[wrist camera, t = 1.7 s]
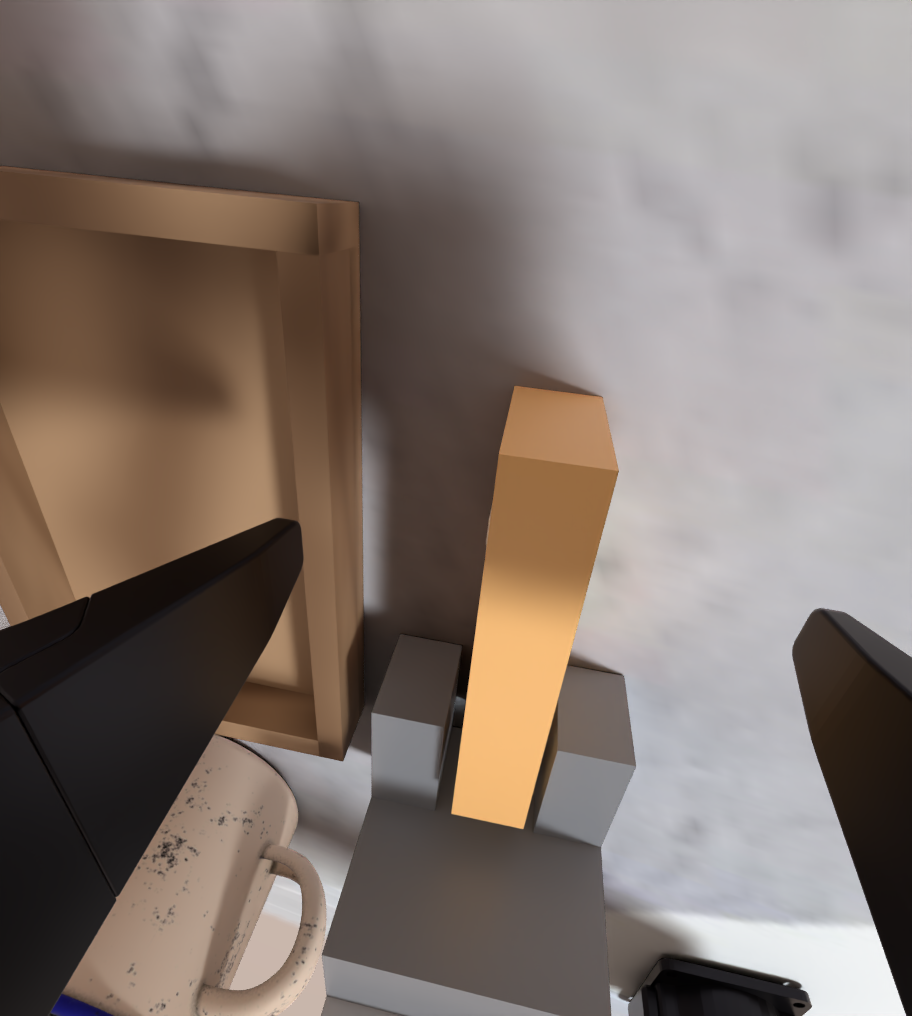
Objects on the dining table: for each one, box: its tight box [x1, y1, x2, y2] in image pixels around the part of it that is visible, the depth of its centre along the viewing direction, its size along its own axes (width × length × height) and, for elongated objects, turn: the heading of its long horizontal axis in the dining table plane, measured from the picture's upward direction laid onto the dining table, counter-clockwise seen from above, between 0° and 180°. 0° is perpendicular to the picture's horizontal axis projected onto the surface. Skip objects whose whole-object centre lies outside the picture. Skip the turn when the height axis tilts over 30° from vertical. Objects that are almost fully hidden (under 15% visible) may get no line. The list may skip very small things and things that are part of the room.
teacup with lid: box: [49, 734, 326, 1016], centre depth 18 cm, size 12×9×12 cm
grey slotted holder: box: [321, 634, 636, 1016], centre depth 15 cm, size 7×7×8 cm
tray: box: [0, 166, 365, 761], centre depth 14 cm, size 11×16×2 cm
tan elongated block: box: [451, 386, 619, 829], centre depth 13 cm, size 2×11×4 cm, turn 175°
